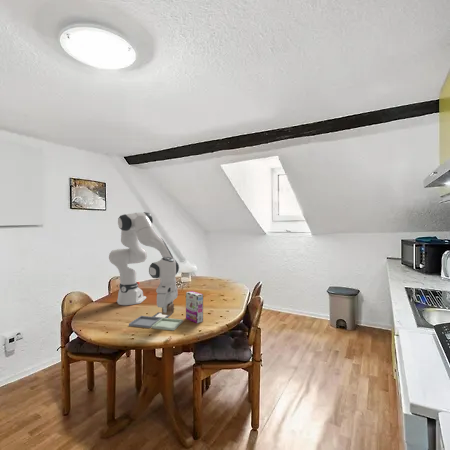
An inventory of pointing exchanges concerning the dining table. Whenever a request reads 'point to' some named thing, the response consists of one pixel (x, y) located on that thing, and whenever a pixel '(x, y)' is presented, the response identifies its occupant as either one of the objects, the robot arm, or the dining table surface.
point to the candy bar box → (194, 306)
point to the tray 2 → (167, 324)
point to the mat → (161, 315)
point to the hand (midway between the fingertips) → (167, 310)
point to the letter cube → (169, 309)
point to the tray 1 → (144, 321)
